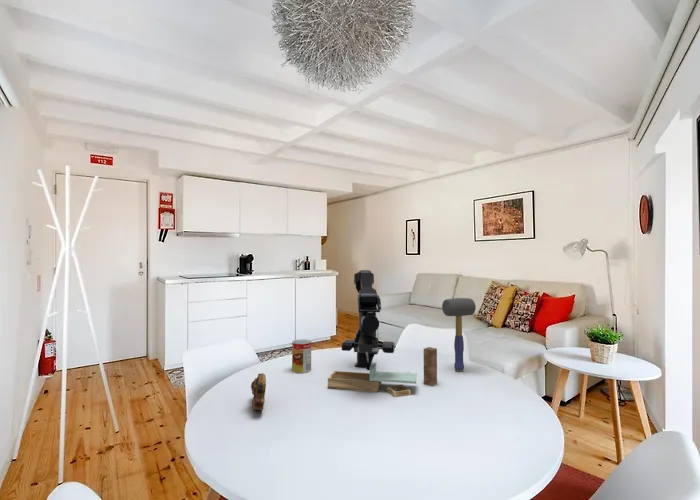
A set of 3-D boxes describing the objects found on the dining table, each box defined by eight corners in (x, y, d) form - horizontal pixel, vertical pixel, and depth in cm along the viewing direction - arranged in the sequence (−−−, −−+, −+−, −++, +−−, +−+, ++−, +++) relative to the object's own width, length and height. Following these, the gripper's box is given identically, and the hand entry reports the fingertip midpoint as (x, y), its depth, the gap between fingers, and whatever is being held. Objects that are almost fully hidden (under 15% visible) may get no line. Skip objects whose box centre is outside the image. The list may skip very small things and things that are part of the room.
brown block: (423, 384, 132) (423, 348, 132) (428, 381, 134) (428, 346, 135) (432, 386, 129) (431, 350, 130) (437, 384, 132) (436, 348, 132)
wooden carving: (248, 399, 118) (248, 368, 118) (262, 397, 120) (262, 367, 120) (253, 420, 103) (253, 384, 103) (269, 417, 104) (269, 382, 105)
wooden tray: (333, 380, 136) (333, 370, 136) (380, 383, 133) (380, 373, 133) (327, 388, 127) (327, 378, 127) (377, 392, 124) (377, 382, 124)
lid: (372, 373, 133) (372, 362, 133) (416, 375, 130) (416, 365, 130) (369, 380, 125) (369, 369, 125) (416, 383, 121) (416, 372, 122)
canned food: (299, 366, 153) (299, 338, 154) (314, 369, 150) (314, 340, 150) (288, 371, 146) (288, 342, 147) (304, 374, 143) (304, 344, 143)
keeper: (386, 390, 125) (386, 386, 125) (402, 388, 127) (402, 384, 127) (394, 397, 120) (394, 392, 120) (410, 394, 121) (410, 390, 122)
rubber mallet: (466, 366, 153) (466, 296, 153) (477, 372, 146) (477, 298, 146) (441, 369, 149) (440, 297, 150) (451, 375, 142) (450, 299, 143)
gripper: (338, 330, 124) (338, 375, 123) (392, 332, 120) (392, 379, 119) (344, 324, 134) (344, 366, 134) (394, 326, 131) (394, 369, 130)
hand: (368, 370), depth 129 cm, fingers closed
